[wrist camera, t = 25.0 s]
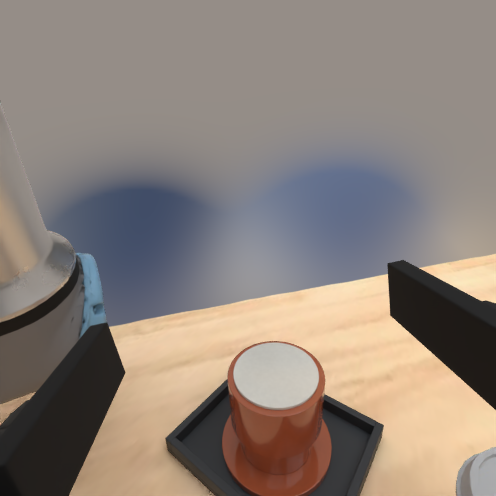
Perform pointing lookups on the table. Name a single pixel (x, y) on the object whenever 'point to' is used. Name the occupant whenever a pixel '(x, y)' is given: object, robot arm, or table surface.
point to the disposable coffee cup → (478, 475)
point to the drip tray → (212, 460)
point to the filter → (276, 421)
